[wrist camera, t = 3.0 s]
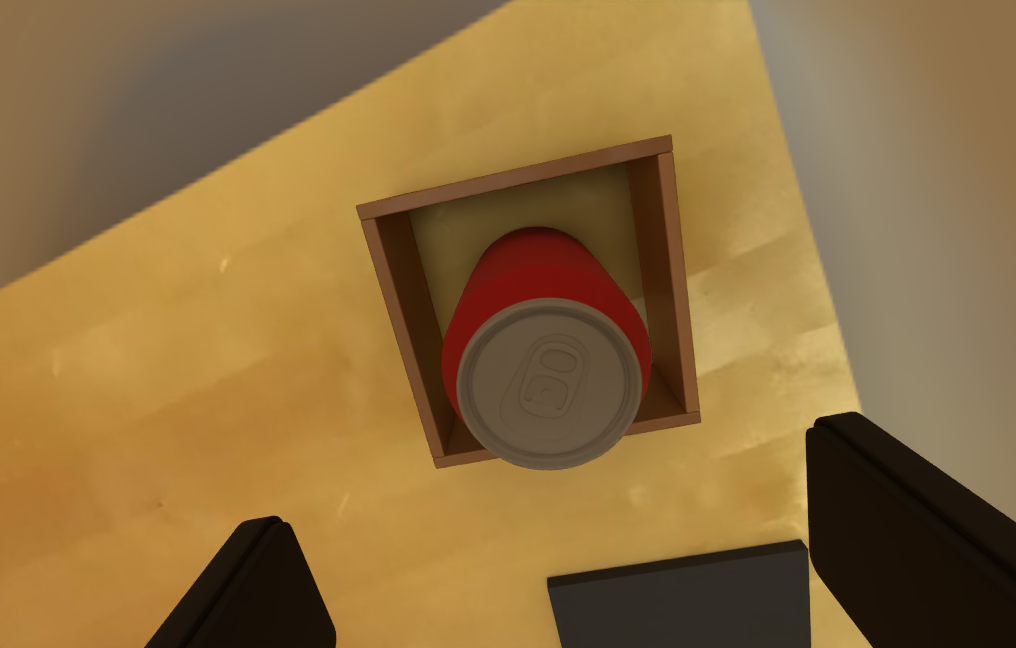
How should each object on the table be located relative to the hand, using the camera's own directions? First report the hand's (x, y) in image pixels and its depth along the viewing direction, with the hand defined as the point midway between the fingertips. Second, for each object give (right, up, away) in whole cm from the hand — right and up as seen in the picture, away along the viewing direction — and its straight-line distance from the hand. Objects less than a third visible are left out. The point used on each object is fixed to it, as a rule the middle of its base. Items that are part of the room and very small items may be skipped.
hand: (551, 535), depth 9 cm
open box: (+1, +6, +16) cm, 18 cm away
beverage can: (+1, +6, +17) cm, 18 cm away
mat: (+11, -19, +24) cm, 32 cm away
